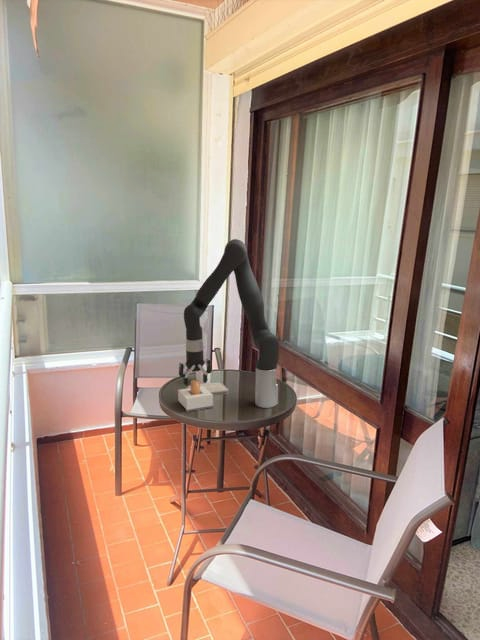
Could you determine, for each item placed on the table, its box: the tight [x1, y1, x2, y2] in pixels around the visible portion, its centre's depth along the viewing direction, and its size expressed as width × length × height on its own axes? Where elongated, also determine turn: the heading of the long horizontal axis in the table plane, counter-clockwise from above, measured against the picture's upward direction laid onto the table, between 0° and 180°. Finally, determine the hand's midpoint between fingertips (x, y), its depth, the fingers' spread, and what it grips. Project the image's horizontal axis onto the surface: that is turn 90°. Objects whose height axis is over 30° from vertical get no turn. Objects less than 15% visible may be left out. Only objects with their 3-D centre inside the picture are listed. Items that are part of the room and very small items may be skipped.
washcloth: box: [186, 381, 229, 397], centre depth 231 cm, size 12×18×3 cm, turn 113°
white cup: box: [195, 363, 212, 384], centre depth 242 cm, size 8×8×10 cm
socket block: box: [177, 386, 214, 412], centre depth 215 cm, size 12×12×6 cm
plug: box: [190, 379, 200, 395], centre depth 214 cm, size 4×4×10 cm
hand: (195, 384), depth 214 cm, fingers open, 8 cm apart
